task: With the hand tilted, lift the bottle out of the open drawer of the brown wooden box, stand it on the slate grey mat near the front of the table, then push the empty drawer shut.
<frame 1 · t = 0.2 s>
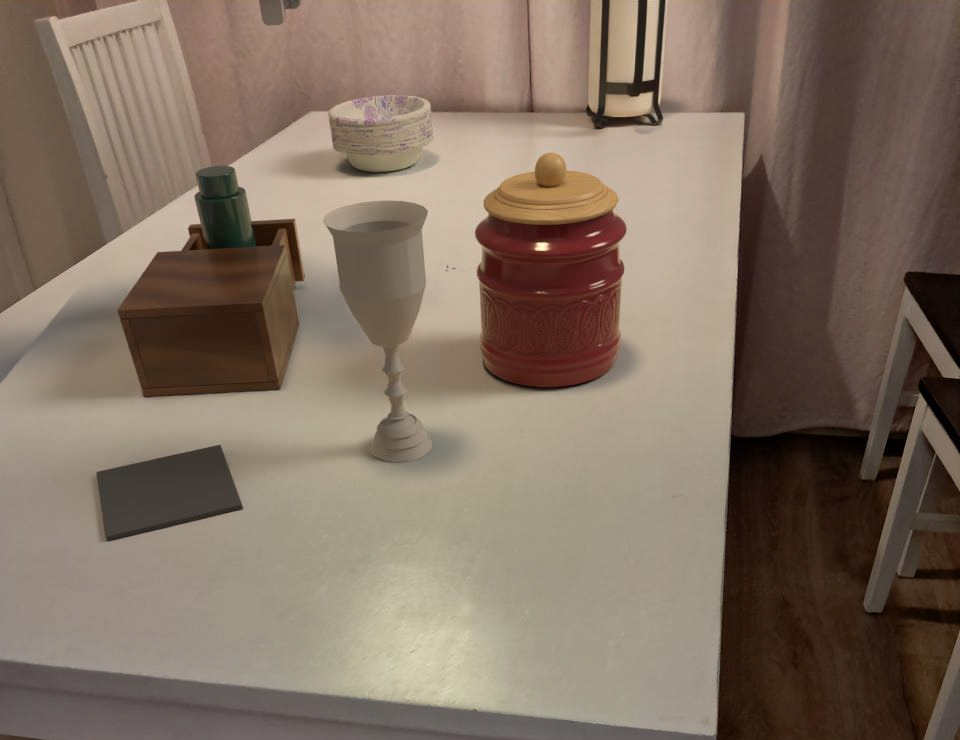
hand: (283, 15, 80), 26 cm above the table, tool pointing down, fingers open, 8 cm apart
paper bowls: (385, 165, 140), on the table
kitchen canister: (549, 361, 87), on the table
brown wooden box: (226, 358, 90), on the table
bottle: (241, 294, 97), point 2 cm above the table, touching drawer
mat: (168, 491, 72), on the table
lantern: (626, 122, 154), on the table
chalice: (401, 448, 76), on the table
drawer: (241, 266, 98), point 4 cm above the table, slide at 10.0 cm, touching bottle
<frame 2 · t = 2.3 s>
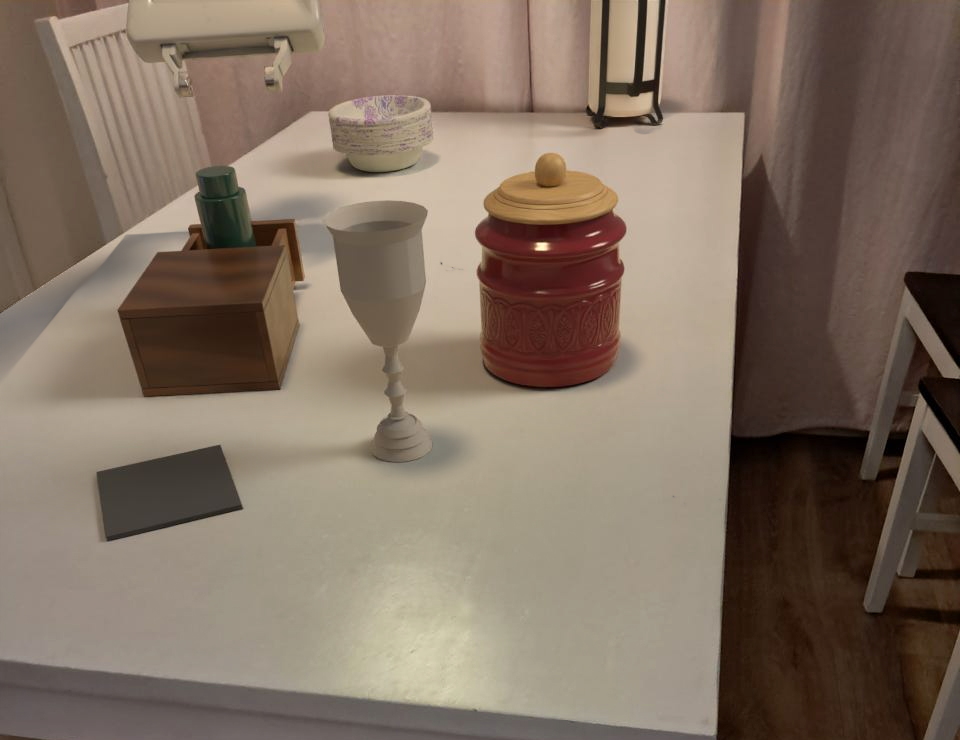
hand: (228, 91, 96), 19 cm above the table, tool tilted 45°, fingers open, 8 cm apart
nothing on the table moved.
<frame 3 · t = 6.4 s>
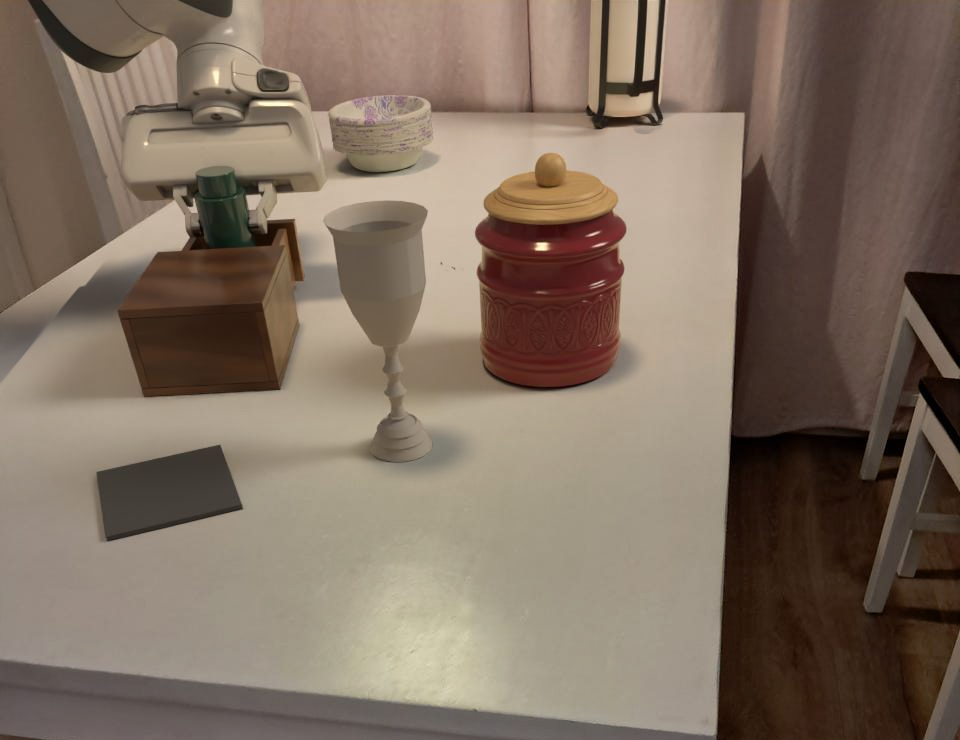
hand: (227, 233, 93), 8 cm above the table, tool tilted 45°, fingers closed on bottle, 5 cm apart
bottle: (241, 294, 97), point 2 cm above the table, touching drawer, gripper
everything else where it was.
when the fingers open (7 cm above the table, at t = 18.0 s): bottle stays where it is, resting on mat.
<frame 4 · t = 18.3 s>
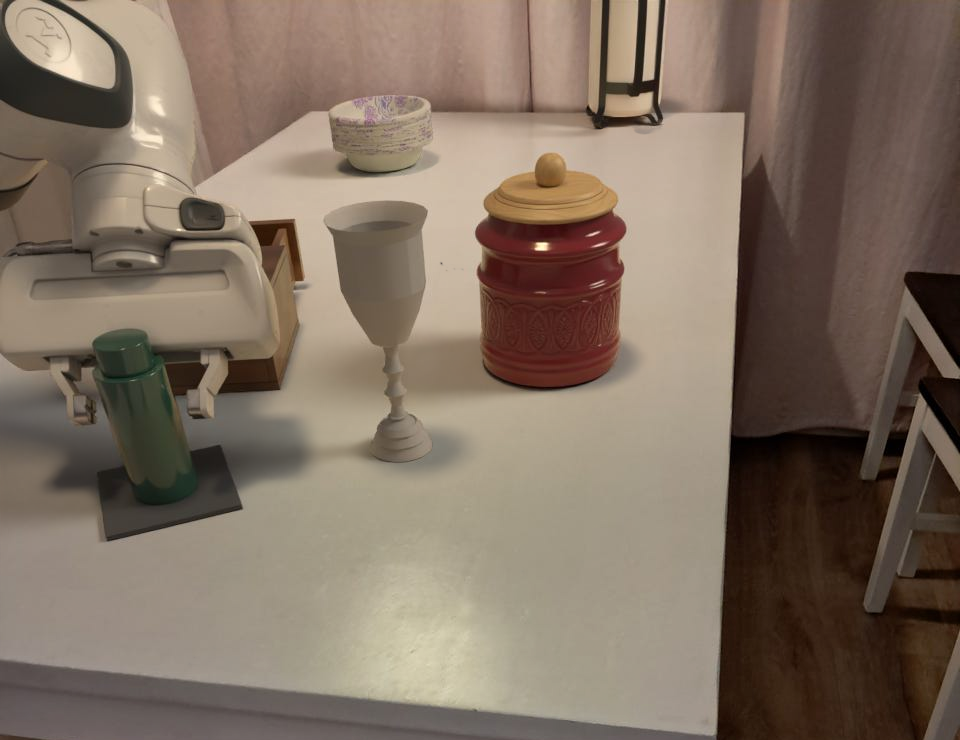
hand: (141, 420, 67), 7 cm above the table, tool tilted 45°, fingers open, 7 cm apart
bottle: (166, 487, 72), resting on mat
drawer: (241, 266, 98), point 4 cm above the table, slide at 10.0 cm
everything else where it was.
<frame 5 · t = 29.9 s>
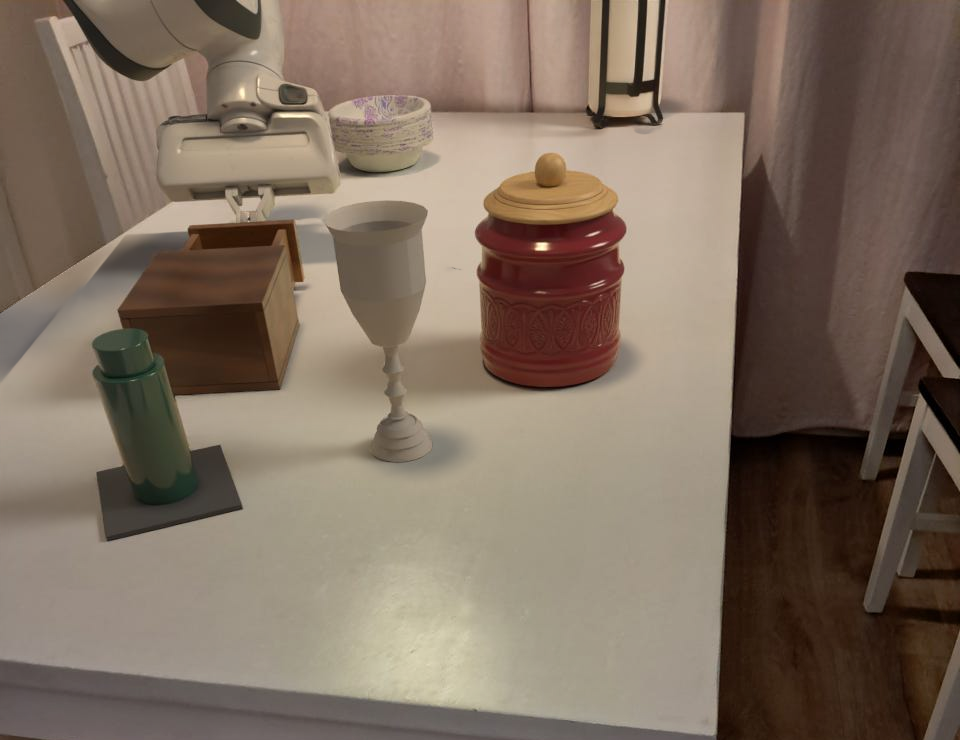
hand: (251, 230, 103), 5 cm above the table, tool tilted 45°, fingers closed, pressing on drawer
drawer: (240, 267, 98), point 4 cm above the table, slide at 9.7 cm, touching gripper
everything else where it was.
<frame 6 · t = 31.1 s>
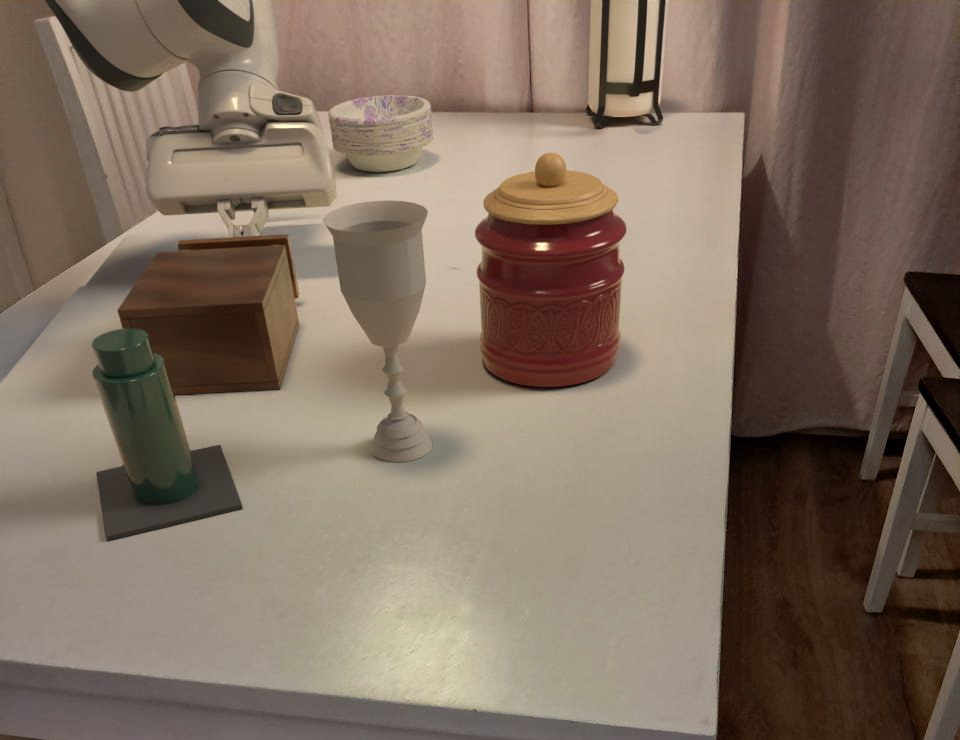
hand: (244, 245, 100), 5 cm above the table, tool tilted 45°, fingers closed, pressing on drawer
drawer: (232, 284, 94), point 4 cm above the table, slide at 5.0 cm, touching gripper
everything else where it was.
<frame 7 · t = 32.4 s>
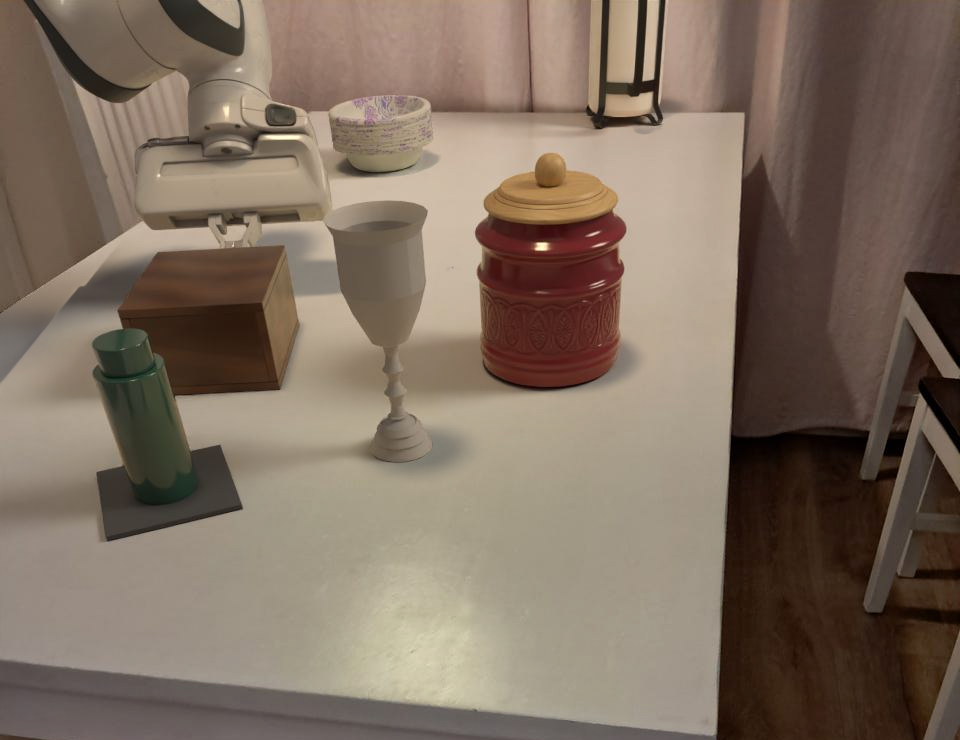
hand: (236, 261, 96), 5 cm above the table, tool tilted 45°, fingers closed, pressing on drawer
drawer: (223, 303, 90), point 4 cm above the table, slide at 0.0 cm, touching brown wooden box, gripper
everything else where it was.
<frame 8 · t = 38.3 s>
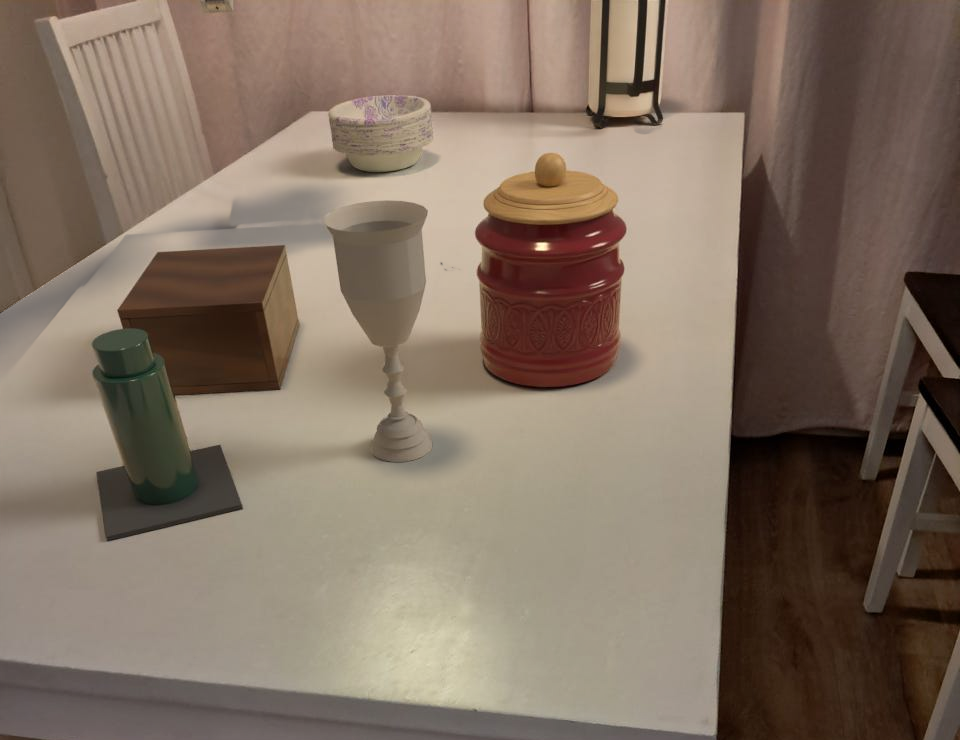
hand: (217, 8, 93), 25 cm above the table, tool tilted 45°, fingers closed
drawer: (223, 303, 90), point 4 cm above the table, slide at 0.0 cm, touching brown wooden box
everything else where it was.
at the end: bottle inside the target area on the mat (0.0 cm from its centre), point 0.4 cm above the mat's base; bottle tilted 0°; drawer slide at 0.0 cm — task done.
